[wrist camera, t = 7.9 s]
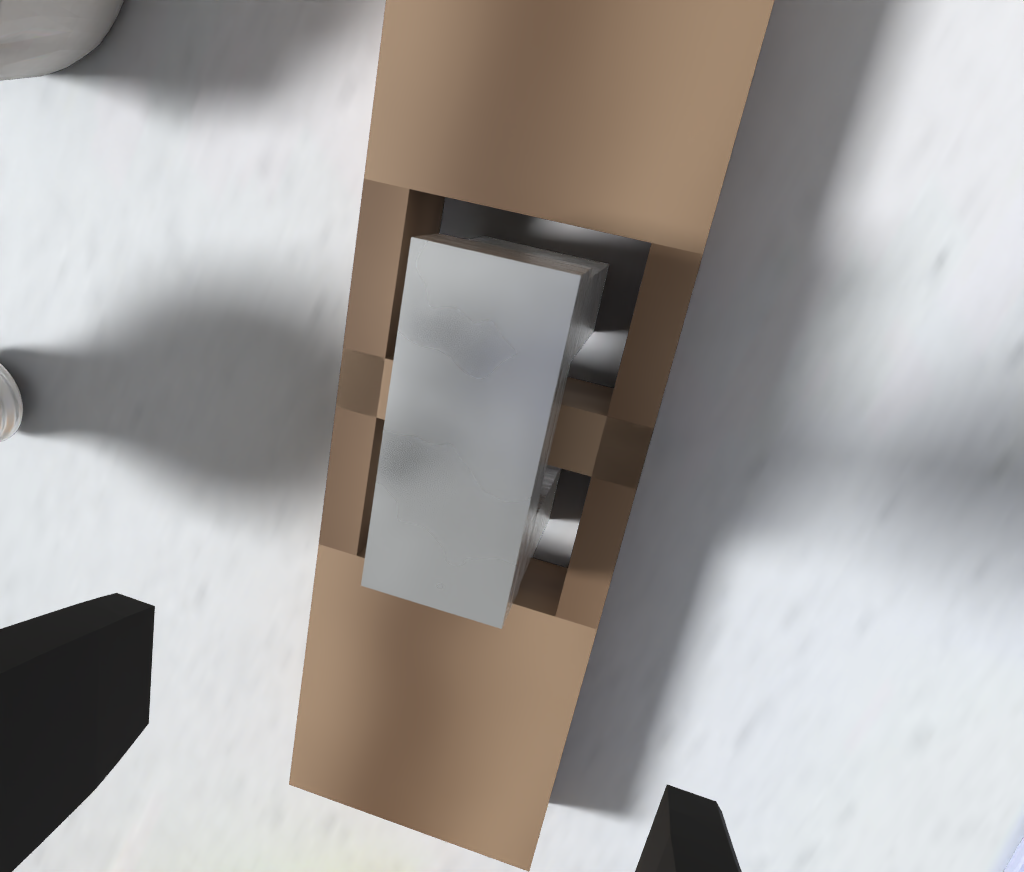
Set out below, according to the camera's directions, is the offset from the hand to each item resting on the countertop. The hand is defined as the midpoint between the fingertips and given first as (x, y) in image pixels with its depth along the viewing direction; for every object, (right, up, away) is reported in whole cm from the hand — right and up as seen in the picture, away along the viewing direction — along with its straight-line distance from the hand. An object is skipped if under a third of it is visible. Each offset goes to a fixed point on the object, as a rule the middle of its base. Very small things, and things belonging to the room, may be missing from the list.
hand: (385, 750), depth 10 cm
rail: (+2, +5, +9) cm, 10 cm away
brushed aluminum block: (+2, +5, +9) cm, 10 cm away
